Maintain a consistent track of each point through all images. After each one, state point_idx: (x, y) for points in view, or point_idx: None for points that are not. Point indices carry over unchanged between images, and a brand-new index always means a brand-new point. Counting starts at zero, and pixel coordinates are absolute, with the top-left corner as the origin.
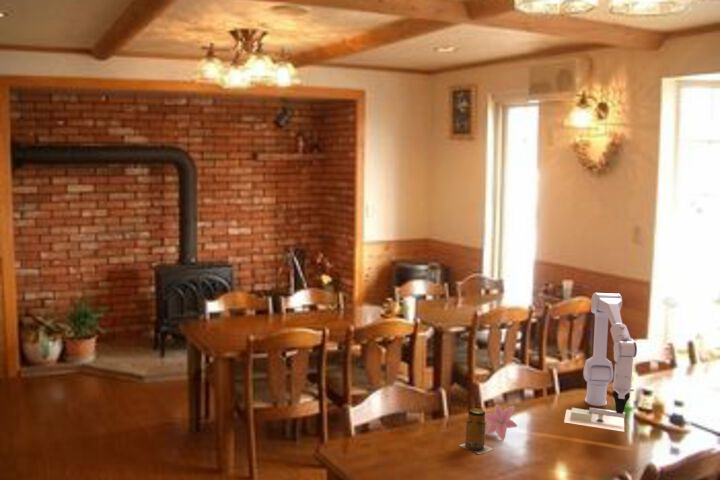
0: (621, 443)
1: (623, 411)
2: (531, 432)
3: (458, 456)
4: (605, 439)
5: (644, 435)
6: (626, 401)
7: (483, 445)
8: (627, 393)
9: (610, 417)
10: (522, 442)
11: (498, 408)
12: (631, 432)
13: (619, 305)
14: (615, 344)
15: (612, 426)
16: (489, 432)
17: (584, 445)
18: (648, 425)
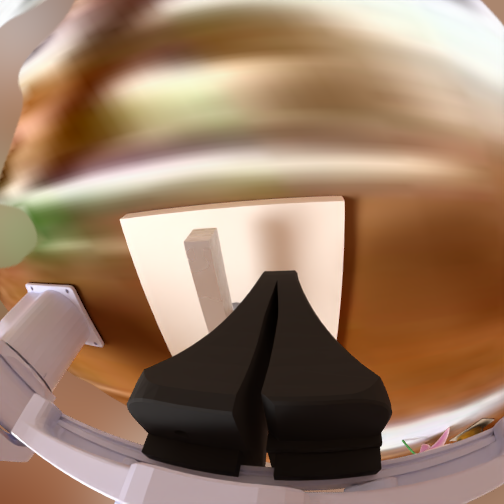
0: (462, 209)
1: (295, 278)
2: (406, 420)
3: (493, 425)
4: (435, 274)
5: (294, 82)
6: (343, 351)
7: (479, 429)
8: (227, 430)
9: (157, 277)
10: (459, 410)
11: None
12: (284, 156)
13: None
14: None
15: (289, 264)
16: (423, 446)
17: (485, 324)
18: (115, 93)
